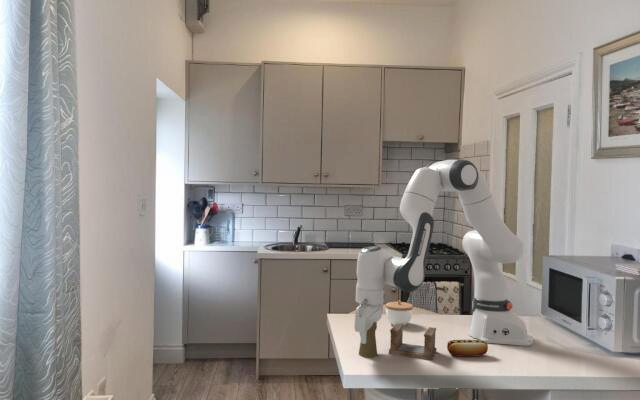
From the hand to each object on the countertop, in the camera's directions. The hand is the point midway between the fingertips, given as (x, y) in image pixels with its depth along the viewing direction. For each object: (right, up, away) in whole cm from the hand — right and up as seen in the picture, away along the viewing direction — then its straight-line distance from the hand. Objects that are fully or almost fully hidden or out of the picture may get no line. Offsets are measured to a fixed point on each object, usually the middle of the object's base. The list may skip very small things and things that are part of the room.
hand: (368, 339), depth 166 cm
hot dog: (+33, -6, +1) cm, 33 cm away
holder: (+15, -5, +3) cm, 16 cm away
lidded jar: (+16, -4, +37) cm, 40 cm away
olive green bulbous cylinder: (0, -5, 0) cm, 5 cm away
